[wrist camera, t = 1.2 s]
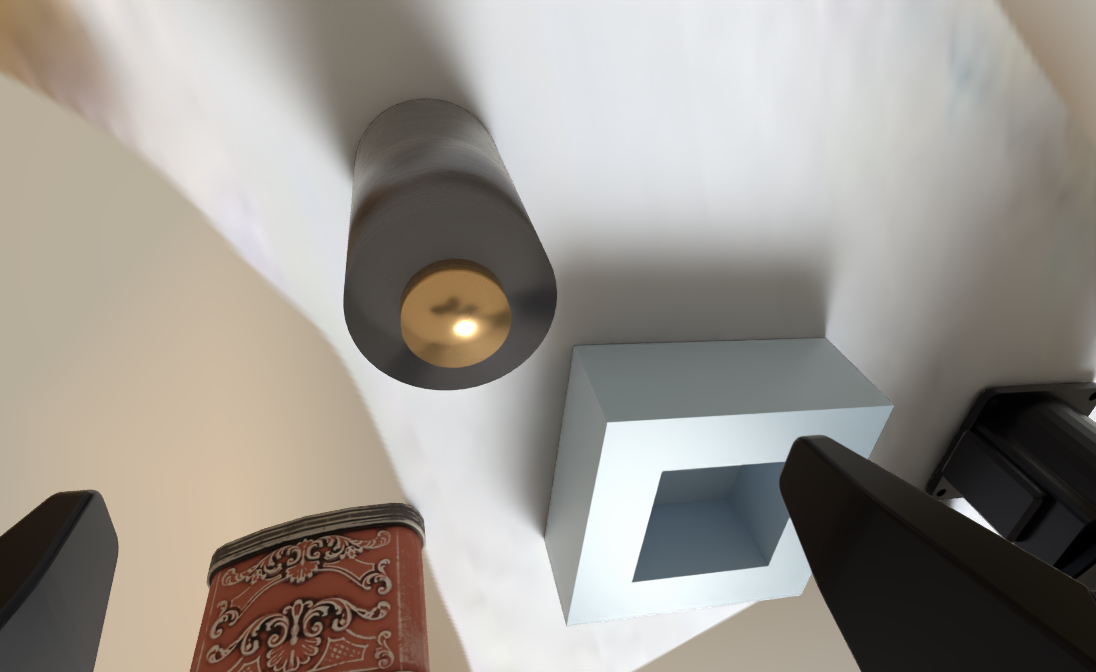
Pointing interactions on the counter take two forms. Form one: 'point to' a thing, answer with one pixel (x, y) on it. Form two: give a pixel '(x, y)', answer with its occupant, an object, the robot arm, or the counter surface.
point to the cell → (441, 253)
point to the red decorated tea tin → (319, 596)
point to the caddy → (692, 470)
